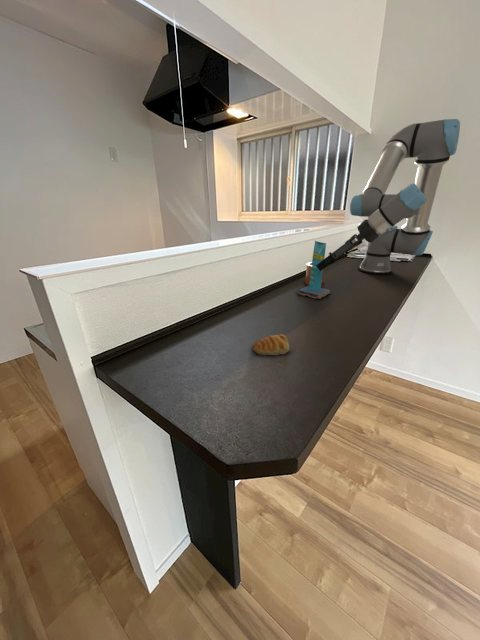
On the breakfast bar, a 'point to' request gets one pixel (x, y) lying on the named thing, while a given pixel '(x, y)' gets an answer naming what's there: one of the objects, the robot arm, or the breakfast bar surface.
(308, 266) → the cup
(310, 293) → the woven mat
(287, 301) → the breakfast bar surface
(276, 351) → the pastry
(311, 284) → the tube
